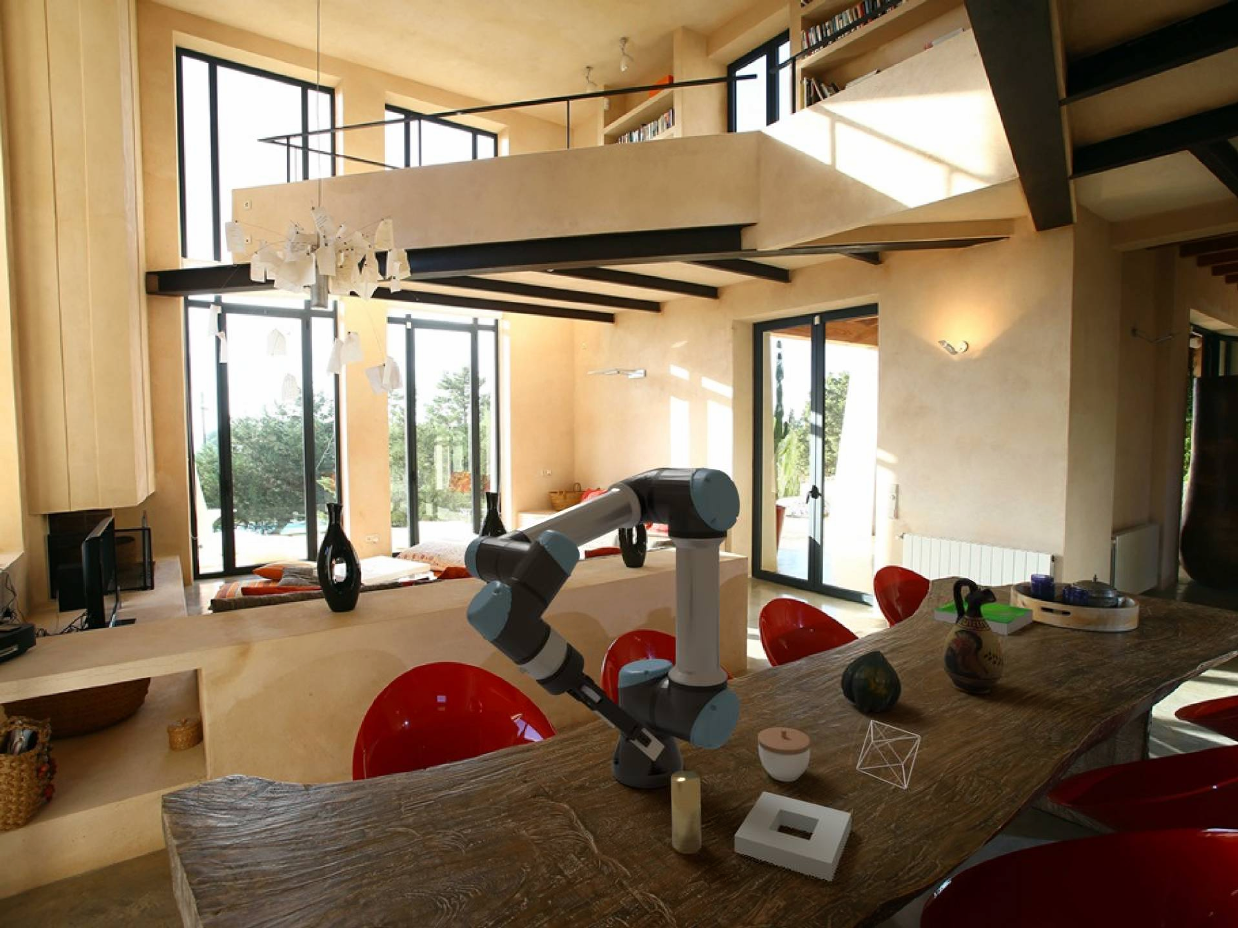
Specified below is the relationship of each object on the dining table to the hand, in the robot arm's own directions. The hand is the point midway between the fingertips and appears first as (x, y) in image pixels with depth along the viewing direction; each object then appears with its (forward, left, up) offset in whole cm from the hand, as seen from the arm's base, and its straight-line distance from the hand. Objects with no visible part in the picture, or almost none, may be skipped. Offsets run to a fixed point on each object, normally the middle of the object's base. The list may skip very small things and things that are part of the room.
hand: (636, 736), depth 109 cm
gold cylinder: (+5, +8, -22) cm, 24 cm away
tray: (+47, +186, -22) cm, 193 cm away
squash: (+23, +85, -22) cm, 91 cm away
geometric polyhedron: (+32, +50, -22) cm, 63 cm away
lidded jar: (+13, +40, -22) cm, 48 cm away
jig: (+21, +18, -22) cm, 35 cm away
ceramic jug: (+45, +111, -22) cm, 122 cm away
